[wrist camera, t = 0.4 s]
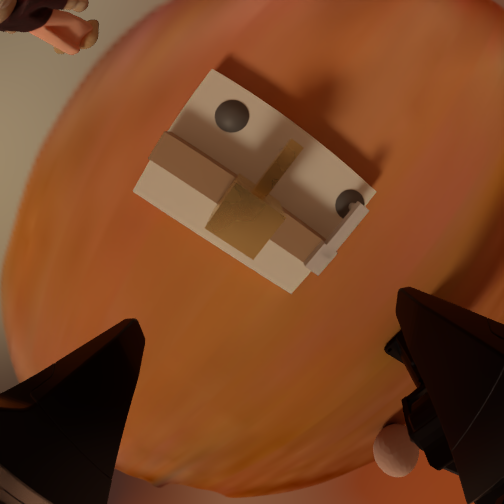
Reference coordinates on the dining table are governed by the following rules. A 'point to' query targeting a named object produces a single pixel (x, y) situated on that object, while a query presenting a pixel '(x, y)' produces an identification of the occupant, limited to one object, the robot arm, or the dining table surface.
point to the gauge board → (254, 179)
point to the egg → (395, 450)
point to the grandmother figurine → (50, 23)
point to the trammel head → (252, 207)
